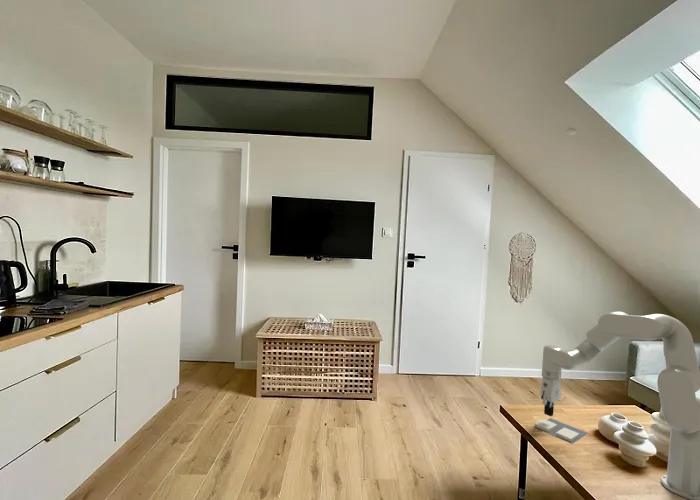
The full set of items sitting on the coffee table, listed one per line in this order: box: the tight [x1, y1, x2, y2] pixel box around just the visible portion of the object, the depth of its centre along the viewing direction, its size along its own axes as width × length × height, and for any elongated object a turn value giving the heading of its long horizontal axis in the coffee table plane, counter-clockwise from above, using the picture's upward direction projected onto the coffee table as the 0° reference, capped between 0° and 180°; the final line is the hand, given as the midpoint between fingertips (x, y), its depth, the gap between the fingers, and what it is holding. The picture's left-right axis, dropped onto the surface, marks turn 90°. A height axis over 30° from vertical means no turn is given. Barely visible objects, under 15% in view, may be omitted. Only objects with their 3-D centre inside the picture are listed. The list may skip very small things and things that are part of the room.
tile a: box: [556, 427, 579, 442], centre depth 159 cm, size 6×1×8 cm
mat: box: [533, 417, 589, 445], centre depth 163 cm, size 16×16×1 cm
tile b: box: [534, 418, 557, 432], centre depth 166 cm, size 6×1×8 cm
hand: (548, 414), depth 167 cm, fingers closed
